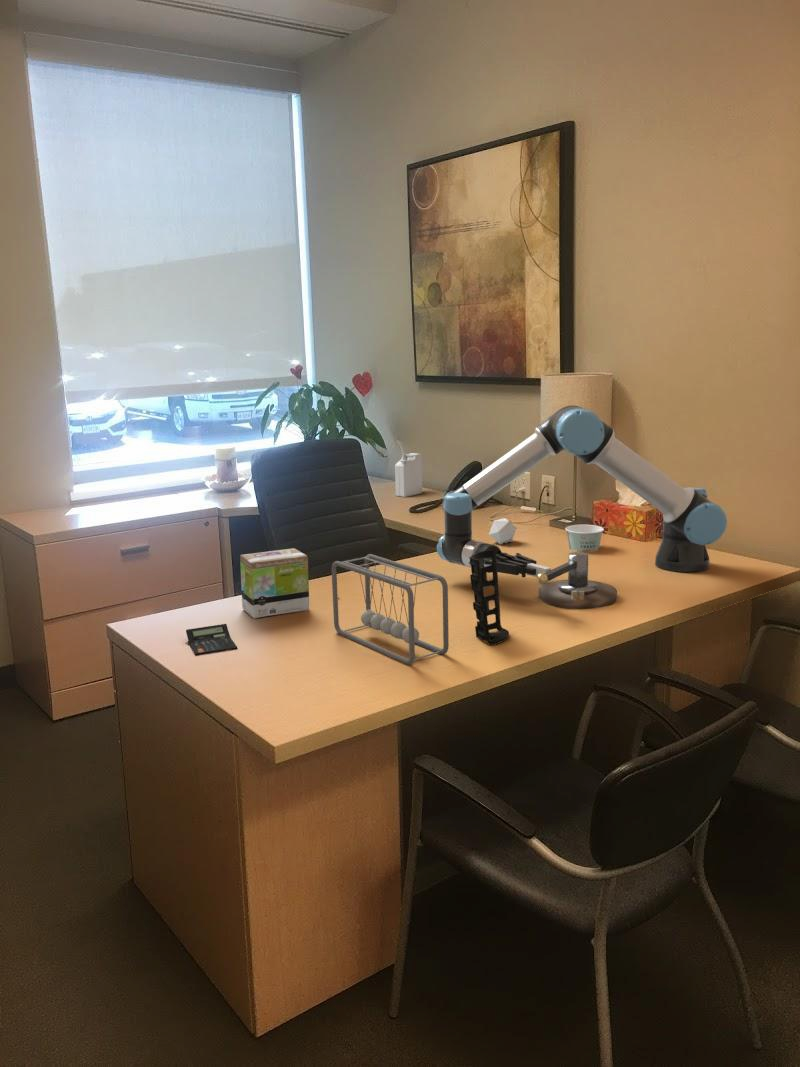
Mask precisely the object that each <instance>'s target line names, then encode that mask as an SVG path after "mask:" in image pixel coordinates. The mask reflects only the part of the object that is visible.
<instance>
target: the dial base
mask: <svg viewBox="0 0 800 1067" xmlns="http://www.w3.org/2000/svg"><path fill="white" fill-rule="evenodd" d="M565 580H566V579H559V580H553V581H548V582H547V583H546V584H544V585H541V584H540V586H539V588H538V599H539V600H540V599H541V600H542V601H541V600H540V601H541V602H543V603H545V604H547V605H550V606H554V607H558V608H563V609H569V610H570V609H573V610H593V609H600V608H606V607H609V606H612V605H614V604H615V603H616V602H617V600H618V590H617V588H616V587H614V586H612V585H611V584H609V583H605V582H601V581H596V580H589V579H588V581H592V582H594V583H596V584H597V585H598V587H597V591H595V592H593V593H588V594H584V591H578V594H577V591H576V590H574V591H571V593H566V592H563V591H560V590H559V589H558V584H559V583H560V582H562V581H565Z"/></svg>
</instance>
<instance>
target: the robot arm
mask: <svg viewBox="0 0 800 1067" xmlns="http://www.w3.org/2000/svg"><path fill="white" fill-rule="evenodd" d="M615 435H616V434H615V429H614V428H612V427H611V426H610V425H609V424H607V423H606V422H605V421H603V420H602V419H601V418H599V416H598V415H597V414H596V413H595V412H593V411H591V410H590V409H586V408H583V407H582V406H578V405H566V406H564V407H561V408H560V409H558V410H556V412H554V413H553V414H552V415H551V416H549V417H547V419H545V420H544V421H543V422H541V423H540V424H538V426H536V427H535V428H534V433H533V434H531V435H529V437H527V438H525V439H524V440H523V441H521V442H520V443H518V444H517V445H516V446H514V447H513V448H512V449H510V450H509V451H508V452H506V453H505V454H504V455H502V456H501V457H499V458H498V459H497V460H495V461H494V462H493V463H491V464H490V465H488V466H487V467H486V468H485V469H483V470H481V471H480V472H479V473H478V474H476V475H475V476H474V477H472V478H471V479H470V480H468V481H467V482H465V483H463V485H461V486H460V487H458V488H457V489H456V490H451V491H449V492H447V493H446V494H445V495H444V496H443V499H442V504H441V506H442V511H443V515H444V534H443V535H441V536H440V538H439V539H438V543H437V544H436V551H437V555H438V557H439V558H440V559H442V560H444V561H446V562H448V563H450V564H456V565H461V566H464V567H467V568H471V565H470V564H469V562H470V558H469V557H471V556H472V555H474V554H475V553H477V552H481V551H485V550H491V549H494V550H496V559H497V572H498V573H501V574H505V575H507V574H508V575H512V576H513V575H514V576H519V575H521V578H526V577H527V576H526V575H528V576H531V577H533V578H534V577H535V578H537V576H538V575H539V574H540V573H545V572H548V571H550V570H552V568H551V567H549V566H545V565H541V564H537V560H535V559H534V558H533V559H532V558H530V557H527V556H525V555H522V554H521V553H520V552H516V553H515V554H514V555H512V554H509V553H507V552H502V550H501V548H500V547H499V546H497V545H495V544H492V543H488V542H487V543H486V542H485V541H480V540H476V539H473V536H472V535H473V531H472V530H473V527H472V526H473V525H472V524H473V523H472V522H473V521H472V520H473V510H475V509H477V508H478V507H479V506H480V505H482V504H483V503H485V502H486V501H487V500H489V499H490V498H491V497H493V496H494V495H495V494H497V493H499V492H500V491H501V490H502V489H504V488H506V487H507V486H509V485H510V484H511V483H513V482H514V481H516V480H517V478H519V477H521V476H522V475H523V474H525V473H526V472H528V471H529V470H530V469H532V468H533V467H535V466H536V465H537V464H539V463H540V462H542V461H544V460H545V459H546V458H547V457H550V456H556V455H558V454H560V453H561V452H562V451H564V450H565V451H567V452H568V453H571V454H572V455H573V456H575V457H576V458H578V459H579V460H580V461H582V462H583V463H584V464H586V465H592V464H595V465H597V466H598V467H600V468H601V469H602V470H603V471H605V472H606V473H607V474H609V475H610V476H612V477H613V478H614V479H616V480H617V481H618V482H620V483H621V484H623V485H624V486H625V487H627V488H628V489H629V490H630V491H632V492H633V493H635V494H637V496H638V497H640V498H642V499H643V500H644V501H645V502H647V503H648V504H650V505H651V506H652V507H654V508H655V509H656V510H658V511H659V512H661V513H662V517H663V518H662V519H663V520H662V539H661V542H660V545H659V546H658V550H657V552H656V554H655V560H654V562H655V563H654V565H655V566H656V567H658V568H660V569H663V570H666V571H670V572H671V571H672V572H683V573H693V572H694V573H695V572H702V571H706V570H708V569H709V568H710V560H711V559H710V556H709V553H708V552H709V551H708V549H707V546H706V545H710V544H714V543H715V542H717V541H718V540H719V539H721V538H722V537H723V535H724V533H725V531H726V529H727V524H728V518H727V515H726V513H725V511H724V510H723V508H722V507H721V506H720V505H719V504H717V503H714V502H712V501H711V500H709V499H708V492H707V489H706V488H703V487H691V486H689V487H682V486H681V485H680V484H678V483H677V482H676V481H674V480H673V479H671V478H670V477H669V476H668V475H666V474H665V473H663V472H662V471H661V470H659V469H658V468H657V467H655V466H654V465H653V464H651V463H650V462H649V461H647V460H646V459H644V458H643V457H642V456H640V455H639V454H638V453H637V452H635V451H634V450H633V449H631V448H630V447H628V446H627V445H625V443H623V442H621V441H620V439H618V438H616V436H615ZM479 563H480V568H481V567H486V566H490V565H491V564H492V560H491V557H485V558H480V559H479ZM490 573H491V574H493V573H492V572H491V571H488V572H487V574H490Z"/></svg>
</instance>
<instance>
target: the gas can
mask: <svg viewBox="0 0 800 1067" xmlns="http://www.w3.org/2000/svg"><path fill="white" fill-rule="evenodd" d="M396 442H397V443H398V446H399V447H400V450H401V459H399V460H398V461H397V462H396V463H394V464H395V465H394V477H395V478H394V481H395V484H394V486H395V496H396V497H400V498H407V497H412V496H415V495H419V494H422V493H423V463H422V460H423V458H422V457H423V456H422V454H421V453H417V452H411V453H408V454H407V453H405V450H404V446H403V443H402V442H401V441H400V439H396Z"/></svg>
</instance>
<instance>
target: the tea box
mask: <svg viewBox="0 0 800 1067" xmlns="http://www.w3.org/2000/svg"><path fill="white" fill-rule="evenodd" d="M239 557H240V558H239V559H240V560H239V561H240V562H239V563H240V565H239V566H240V586H241V587H240V588H241V606H242V609H243V610H244V611H245V612H246V613H247V614H248V615H249V616H250V617H251V618H253V619H259V618H263V617H269V616H276V615H284V614H288V613H289V614H290V613H297V612H304V611H309V610H310V588H309V586H310V584H309V582H310V581H309V559H308V555H306V554H305V553H303V552H301V551H300V550H298V549H296V548H294V547H293V548H286V549H278V550H269V551H263V552H262V551H259V552H254V553H246V554H245V553H244V554H240V556H239Z"/></svg>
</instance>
